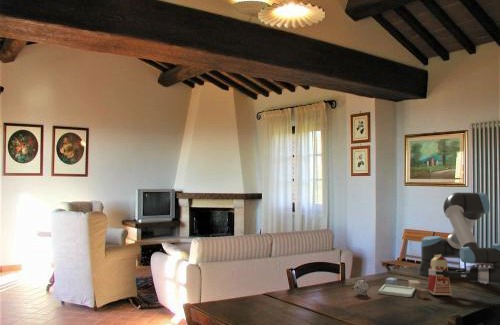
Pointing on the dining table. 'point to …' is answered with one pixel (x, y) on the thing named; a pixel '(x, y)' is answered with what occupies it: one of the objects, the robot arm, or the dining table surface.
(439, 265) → the milk carton
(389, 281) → the slate-blue brick
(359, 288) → the game die
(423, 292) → the walnut brick
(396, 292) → the tray
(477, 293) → the dining table surface
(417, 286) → the maple brick
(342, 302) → the dining table surface
